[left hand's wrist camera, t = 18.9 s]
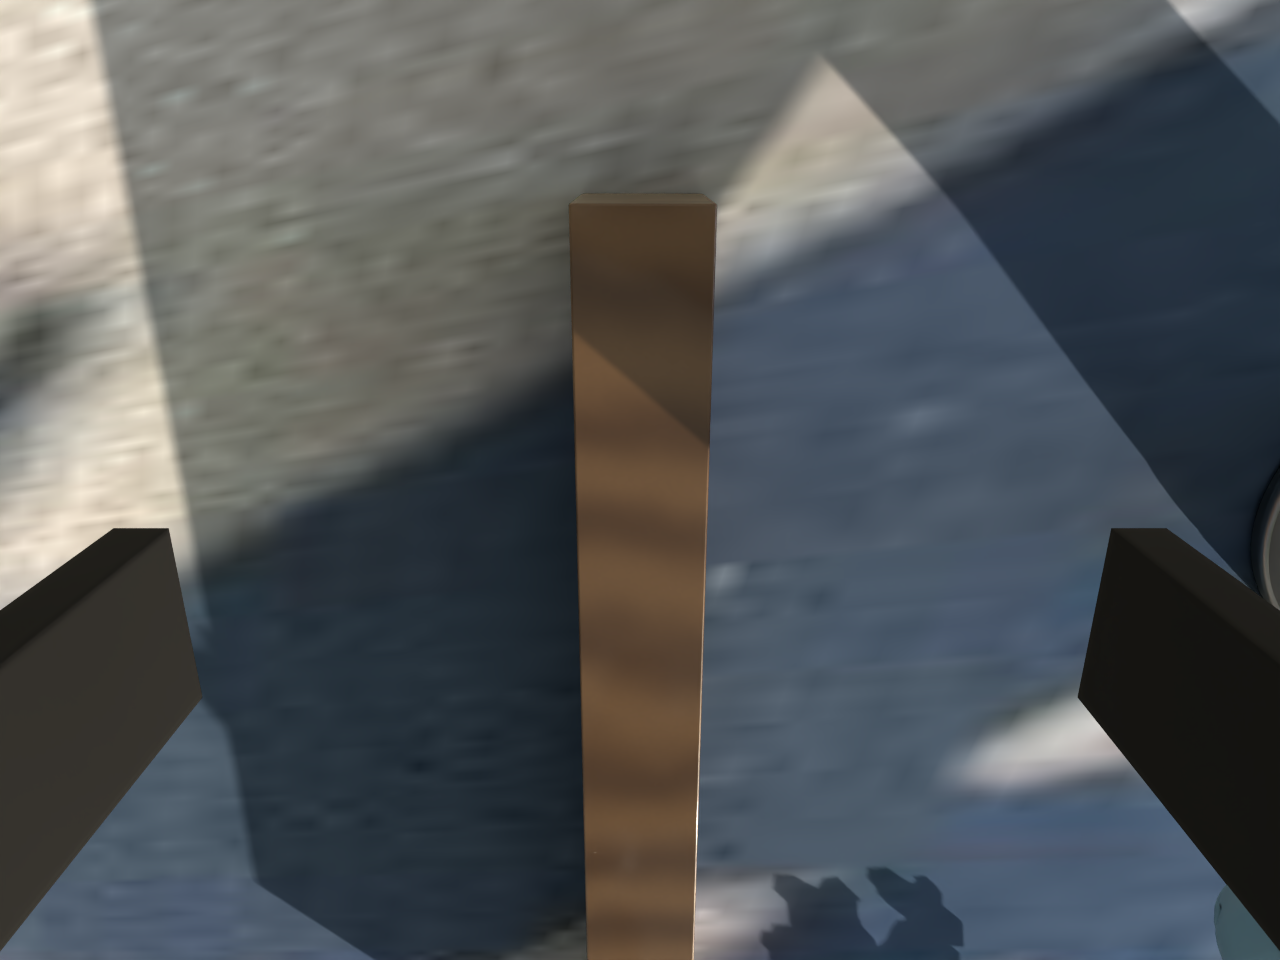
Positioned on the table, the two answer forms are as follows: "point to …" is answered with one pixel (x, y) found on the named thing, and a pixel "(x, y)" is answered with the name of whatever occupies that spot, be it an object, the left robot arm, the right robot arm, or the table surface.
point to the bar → (641, 556)
